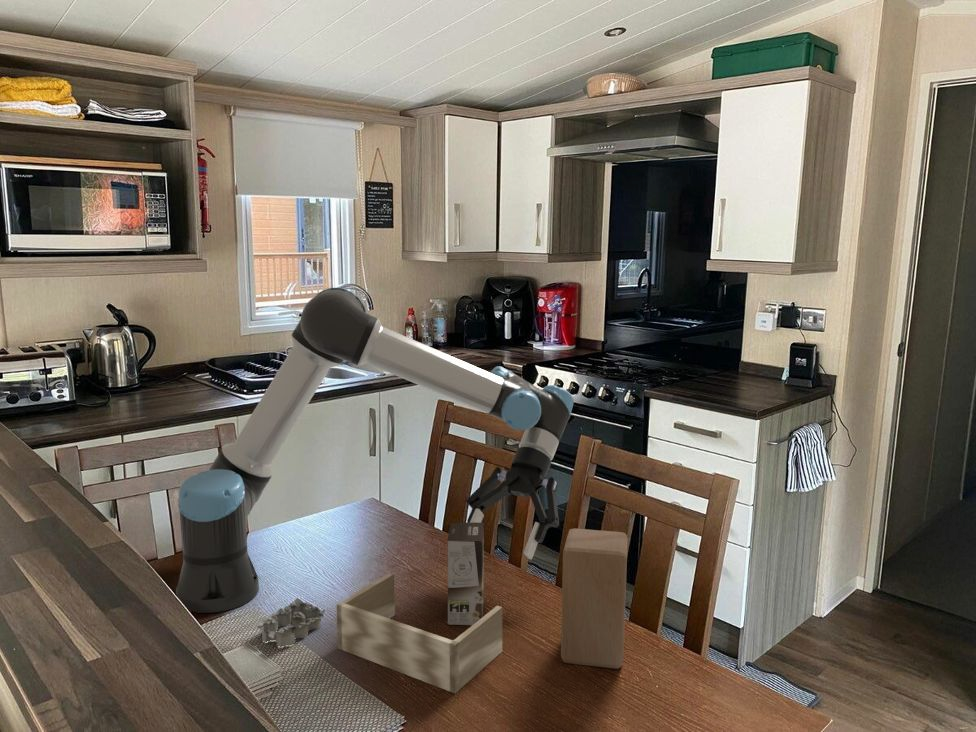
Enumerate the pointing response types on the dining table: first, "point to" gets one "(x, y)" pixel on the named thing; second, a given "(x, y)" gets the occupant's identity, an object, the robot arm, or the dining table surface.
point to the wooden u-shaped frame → (414, 639)
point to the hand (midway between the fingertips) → (496, 548)
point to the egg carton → (283, 618)
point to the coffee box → (465, 573)
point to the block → (594, 598)
